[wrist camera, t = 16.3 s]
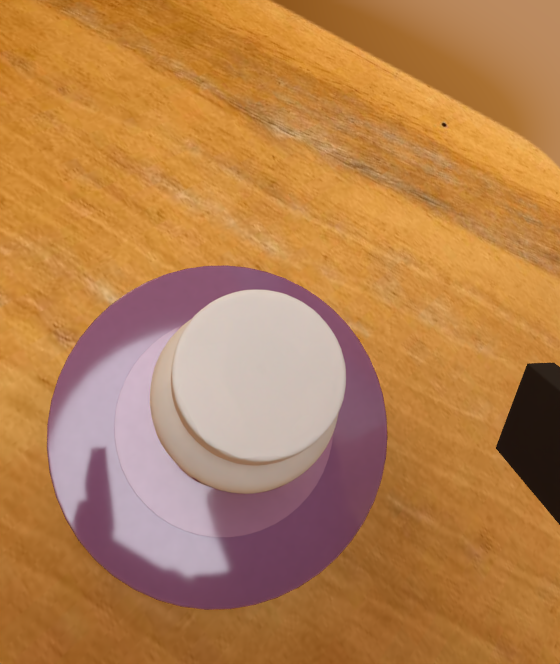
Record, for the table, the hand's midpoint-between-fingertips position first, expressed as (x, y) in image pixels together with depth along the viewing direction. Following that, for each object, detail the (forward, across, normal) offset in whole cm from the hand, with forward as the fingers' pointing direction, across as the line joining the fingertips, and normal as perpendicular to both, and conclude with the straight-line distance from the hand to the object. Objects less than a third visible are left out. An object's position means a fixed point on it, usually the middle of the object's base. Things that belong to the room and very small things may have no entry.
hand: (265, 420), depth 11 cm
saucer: (+8, 0, -6) cm, 10 cm away
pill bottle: (+7, 0, -6) cm, 9 cm away
